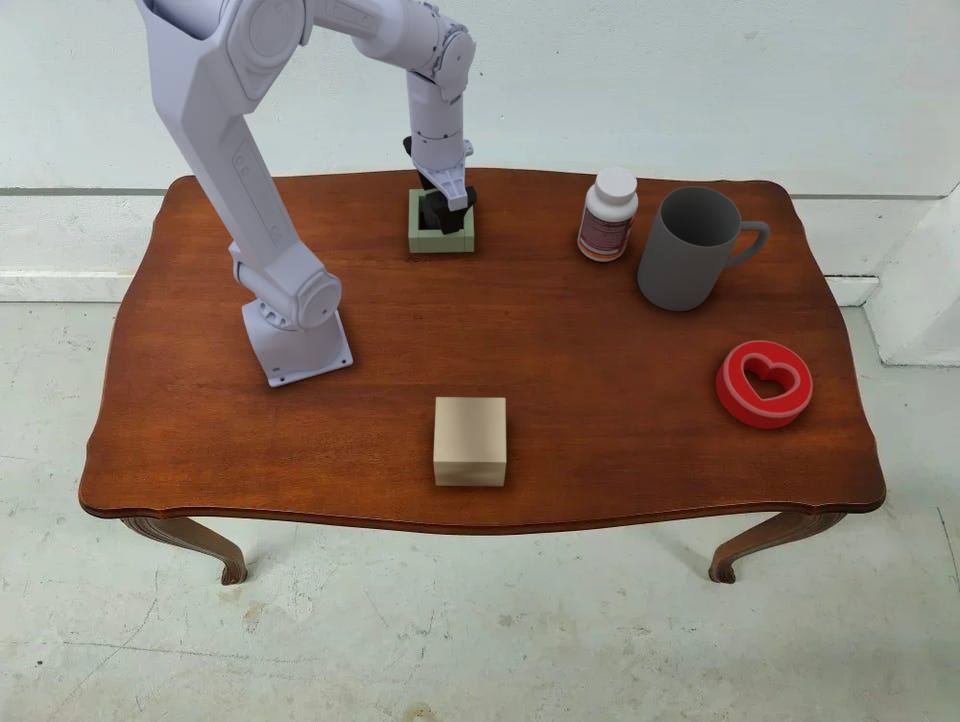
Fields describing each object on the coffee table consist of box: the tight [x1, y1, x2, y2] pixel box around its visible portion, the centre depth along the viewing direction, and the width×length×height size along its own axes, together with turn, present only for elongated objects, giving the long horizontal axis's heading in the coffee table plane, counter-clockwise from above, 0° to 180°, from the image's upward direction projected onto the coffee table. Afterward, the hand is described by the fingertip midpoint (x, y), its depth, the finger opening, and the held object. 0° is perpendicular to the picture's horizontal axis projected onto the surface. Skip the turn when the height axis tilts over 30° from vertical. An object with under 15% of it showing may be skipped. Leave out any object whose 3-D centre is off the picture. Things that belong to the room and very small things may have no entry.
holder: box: [408, 188, 475, 254], centre depth 89 cm, size 8×8×3 cm
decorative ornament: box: [715, 339, 814, 430], centre depth 78 cm, size 10×10×3 cm
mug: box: [637, 185, 771, 312], centre depth 82 cm, size 14×9×12 cm
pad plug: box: [423, 191, 441, 230], centre depth 89 cm, size 4×4×4 cm
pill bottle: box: [577, 166, 639, 263], centre depth 85 cm, size 6×6×11 cm
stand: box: [432, 396, 507, 487], centre depth 72 cm, size 7×7×6 cm
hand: (440, 208), depth 88 cm, fingers open, 7 cm apart
